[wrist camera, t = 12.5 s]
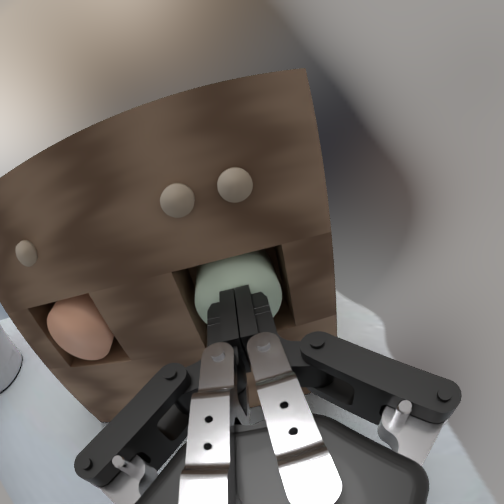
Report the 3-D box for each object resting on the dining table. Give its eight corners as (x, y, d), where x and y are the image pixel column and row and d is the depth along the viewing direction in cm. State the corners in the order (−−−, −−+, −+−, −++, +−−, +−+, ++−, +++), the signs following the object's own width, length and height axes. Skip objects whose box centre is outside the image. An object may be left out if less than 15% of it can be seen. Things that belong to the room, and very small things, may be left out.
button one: (71, 362, 15) (35, 312, 13) (83, 333, 18) (53, 285, 16) (123, 356, 15) (86, 300, 13) (132, 324, 18) (103, 270, 16)
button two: (209, 340, 15) (182, 276, 13) (209, 307, 18) (186, 247, 16) (287, 321, 15) (274, 252, 13) (276, 290, 18) (263, 227, 16)
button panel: (100, 424, 18) (-46, 213, 9) (108, 388, 22) (-8, 190, 13) (338, 387, 19) (307, 67, 9) (321, 348, 22) (282, 78, 13)
